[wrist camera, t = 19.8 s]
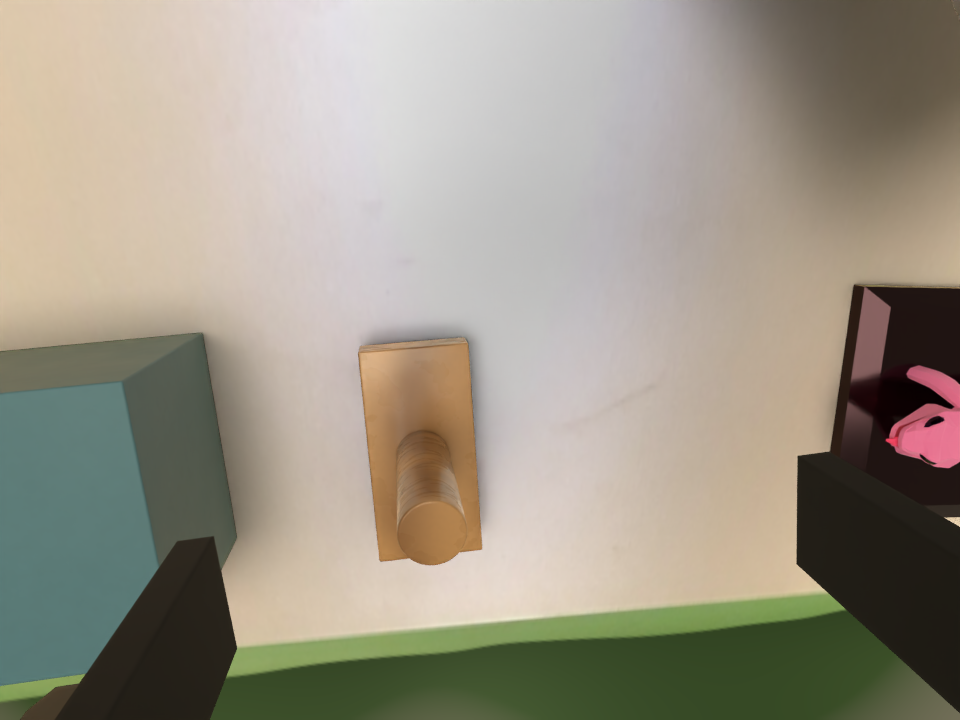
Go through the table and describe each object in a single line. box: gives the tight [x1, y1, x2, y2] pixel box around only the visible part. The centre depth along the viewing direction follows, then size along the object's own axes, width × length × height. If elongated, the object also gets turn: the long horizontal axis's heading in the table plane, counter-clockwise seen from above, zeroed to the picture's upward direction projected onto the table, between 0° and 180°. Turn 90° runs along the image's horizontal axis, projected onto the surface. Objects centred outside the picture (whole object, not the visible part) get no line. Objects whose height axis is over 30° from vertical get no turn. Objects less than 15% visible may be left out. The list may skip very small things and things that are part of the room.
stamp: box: [358, 337, 482, 565], centre depth 33 cm, size 6×12×12 cm, turn 4°
